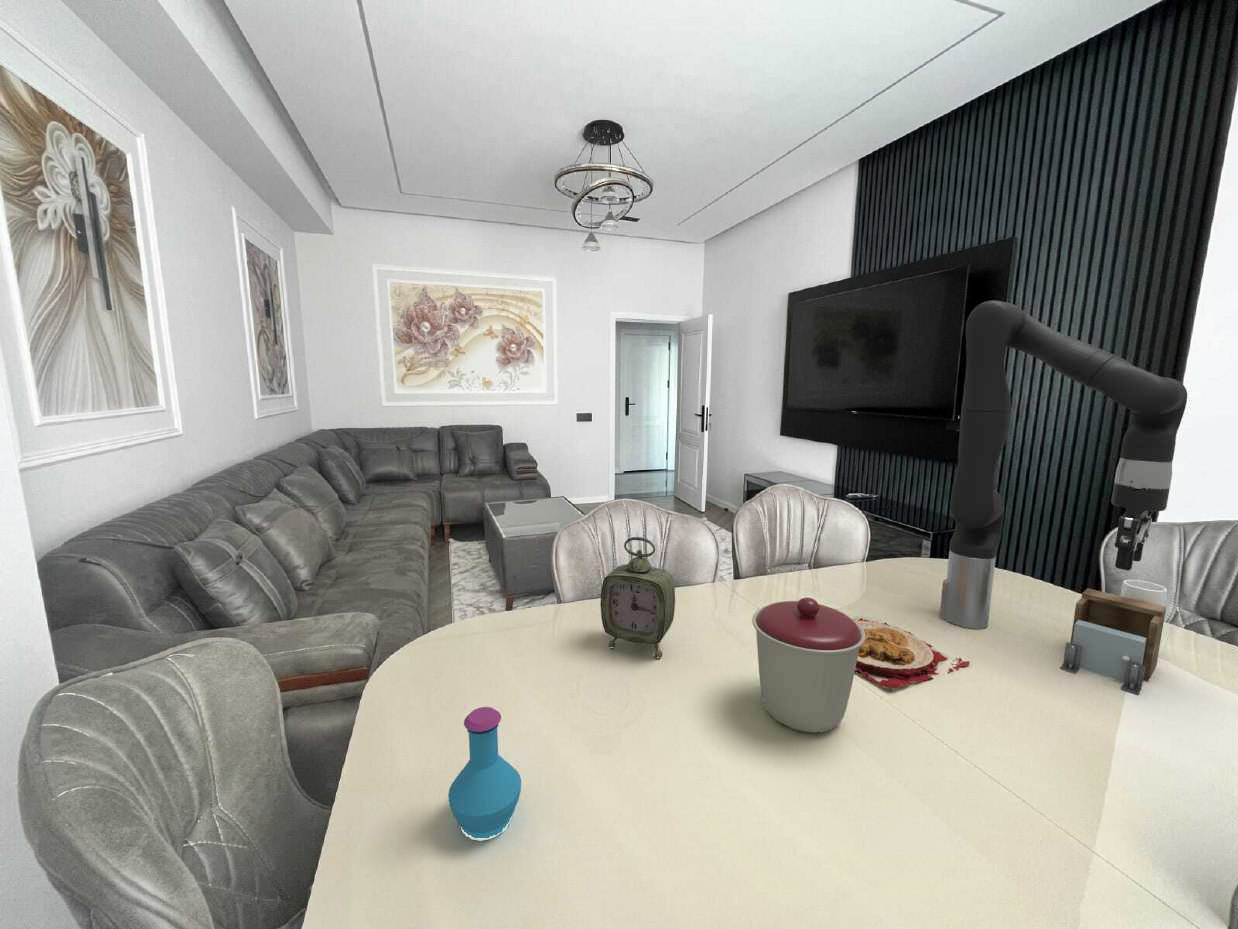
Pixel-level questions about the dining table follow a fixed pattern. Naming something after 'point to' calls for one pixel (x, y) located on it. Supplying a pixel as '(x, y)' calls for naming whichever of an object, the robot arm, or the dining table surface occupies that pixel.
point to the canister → (806, 662)
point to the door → (1107, 649)
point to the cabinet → (1124, 620)
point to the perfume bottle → (484, 780)
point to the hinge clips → (1132, 672)
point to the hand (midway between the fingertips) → (1127, 564)
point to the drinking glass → (1144, 591)
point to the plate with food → (896, 656)
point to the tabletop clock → (638, 601)
